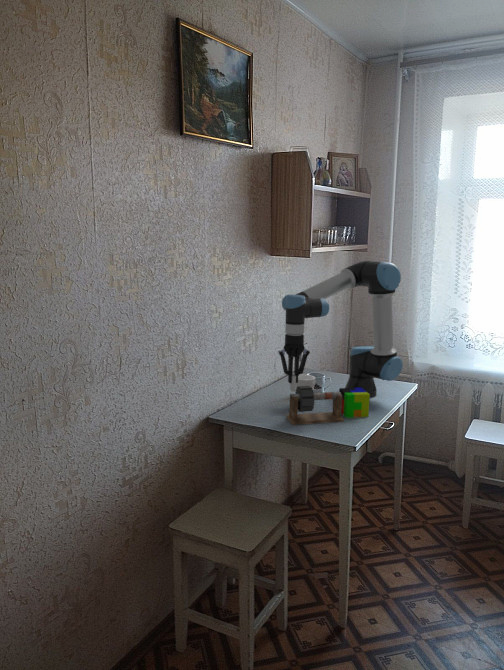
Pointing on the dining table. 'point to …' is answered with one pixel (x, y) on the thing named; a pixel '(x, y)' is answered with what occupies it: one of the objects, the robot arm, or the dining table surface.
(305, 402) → the dark gray notched block
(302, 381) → the foam cup
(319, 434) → the dining table surface
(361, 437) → the dining table surface
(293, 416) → the pipe rig
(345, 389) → the puzzle toy
